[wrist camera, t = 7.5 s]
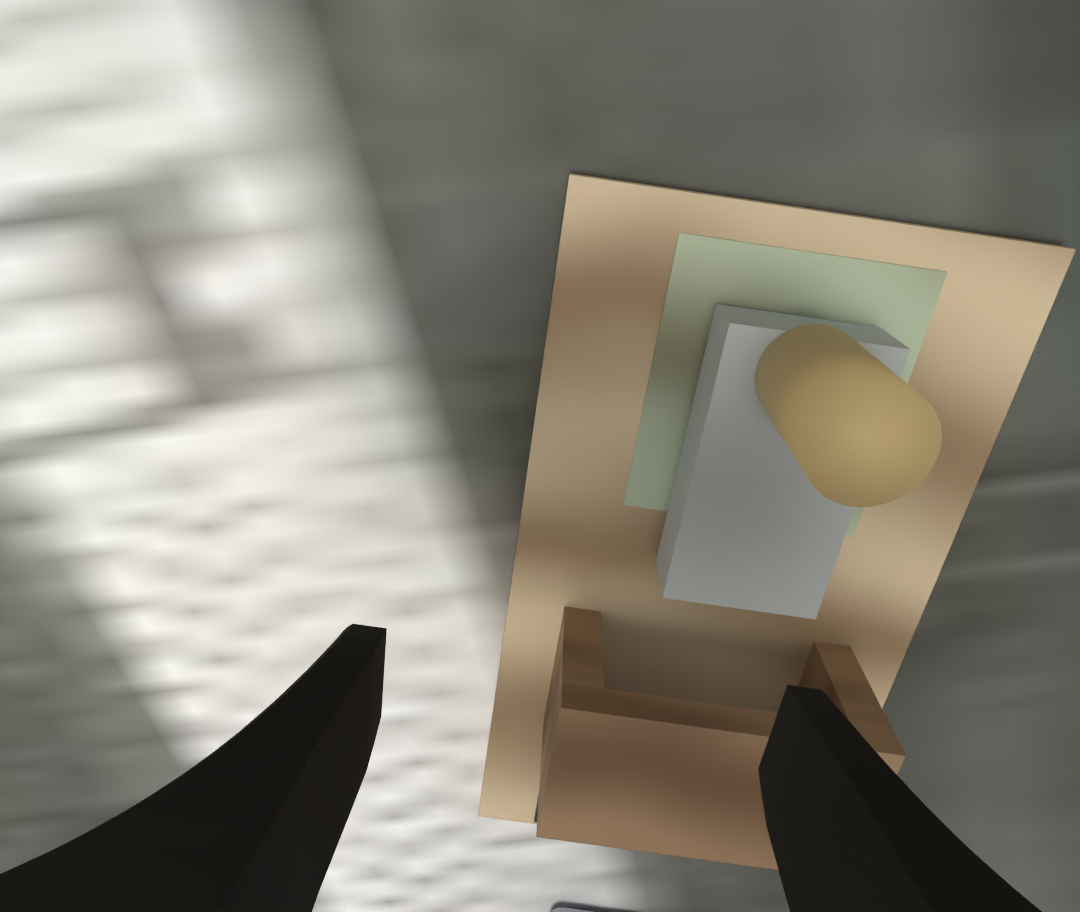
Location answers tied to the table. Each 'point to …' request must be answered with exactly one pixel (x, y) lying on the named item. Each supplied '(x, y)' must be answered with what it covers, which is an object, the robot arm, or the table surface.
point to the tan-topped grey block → (787, 457)
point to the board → (662, 418)
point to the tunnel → (672, 756)
